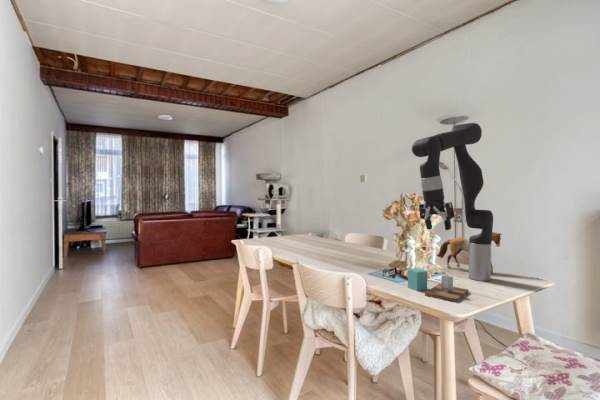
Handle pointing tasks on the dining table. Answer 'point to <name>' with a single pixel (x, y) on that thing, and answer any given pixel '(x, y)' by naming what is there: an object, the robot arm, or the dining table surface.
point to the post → (447, 284)
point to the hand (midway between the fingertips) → (438, 229)
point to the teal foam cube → (417, 279)
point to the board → (449, 296)
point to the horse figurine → (462, 247)
